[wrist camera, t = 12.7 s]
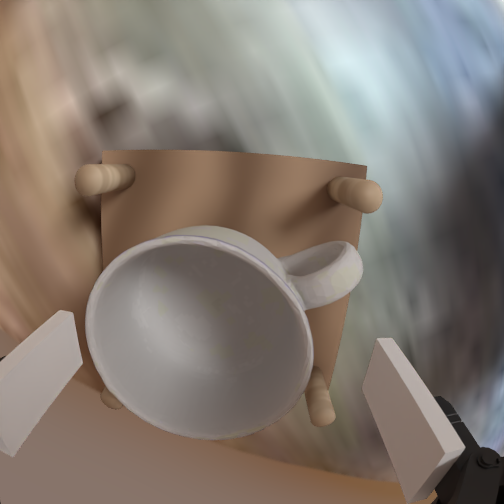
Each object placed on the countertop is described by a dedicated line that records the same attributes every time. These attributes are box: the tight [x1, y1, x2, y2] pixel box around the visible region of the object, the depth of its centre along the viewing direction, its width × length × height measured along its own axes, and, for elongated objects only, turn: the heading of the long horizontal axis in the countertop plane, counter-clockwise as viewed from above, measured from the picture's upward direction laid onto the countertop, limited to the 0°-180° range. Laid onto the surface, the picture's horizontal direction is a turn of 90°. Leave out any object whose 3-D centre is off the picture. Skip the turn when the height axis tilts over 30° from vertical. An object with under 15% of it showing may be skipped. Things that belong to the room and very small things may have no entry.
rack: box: [75, 150, 383, 427], centre depth 19 cm, size 17×17×6 cm
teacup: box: [85, 225, 363, 440], centre depth 17 cm, size 14×11×8 cm
